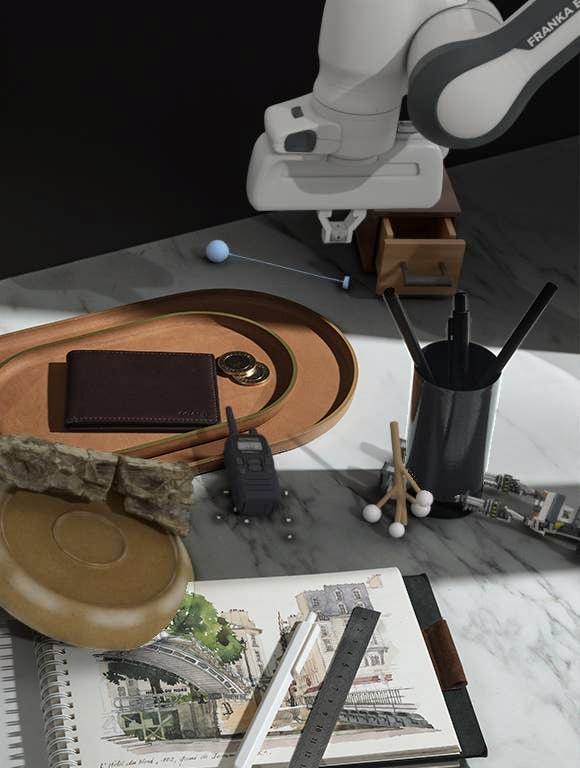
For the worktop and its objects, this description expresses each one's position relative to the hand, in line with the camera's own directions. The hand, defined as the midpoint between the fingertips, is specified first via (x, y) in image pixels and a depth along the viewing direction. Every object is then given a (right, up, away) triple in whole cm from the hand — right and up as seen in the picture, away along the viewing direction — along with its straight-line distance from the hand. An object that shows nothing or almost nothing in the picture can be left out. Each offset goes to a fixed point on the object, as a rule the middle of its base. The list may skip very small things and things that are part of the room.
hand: (335, 240), depth 137 cm
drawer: (+16, +1, +35) cm, 38 cm away
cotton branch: (+5, -20, -3) cm, 20 cm away
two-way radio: (-8, -29, -1) cm, 31 cm away
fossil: (-28, -24, -5) cm, 37 cm away
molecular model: (-2, +1, +37) cm, 37 cm away
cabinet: (+16, +7, +43) cm, 46 cm away
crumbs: (-9, -30, +1) cm, 31 cm away
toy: (+6, -25, +4) cm, 26 cm away
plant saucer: (-26, -31, -12) cm, 42 cm away
